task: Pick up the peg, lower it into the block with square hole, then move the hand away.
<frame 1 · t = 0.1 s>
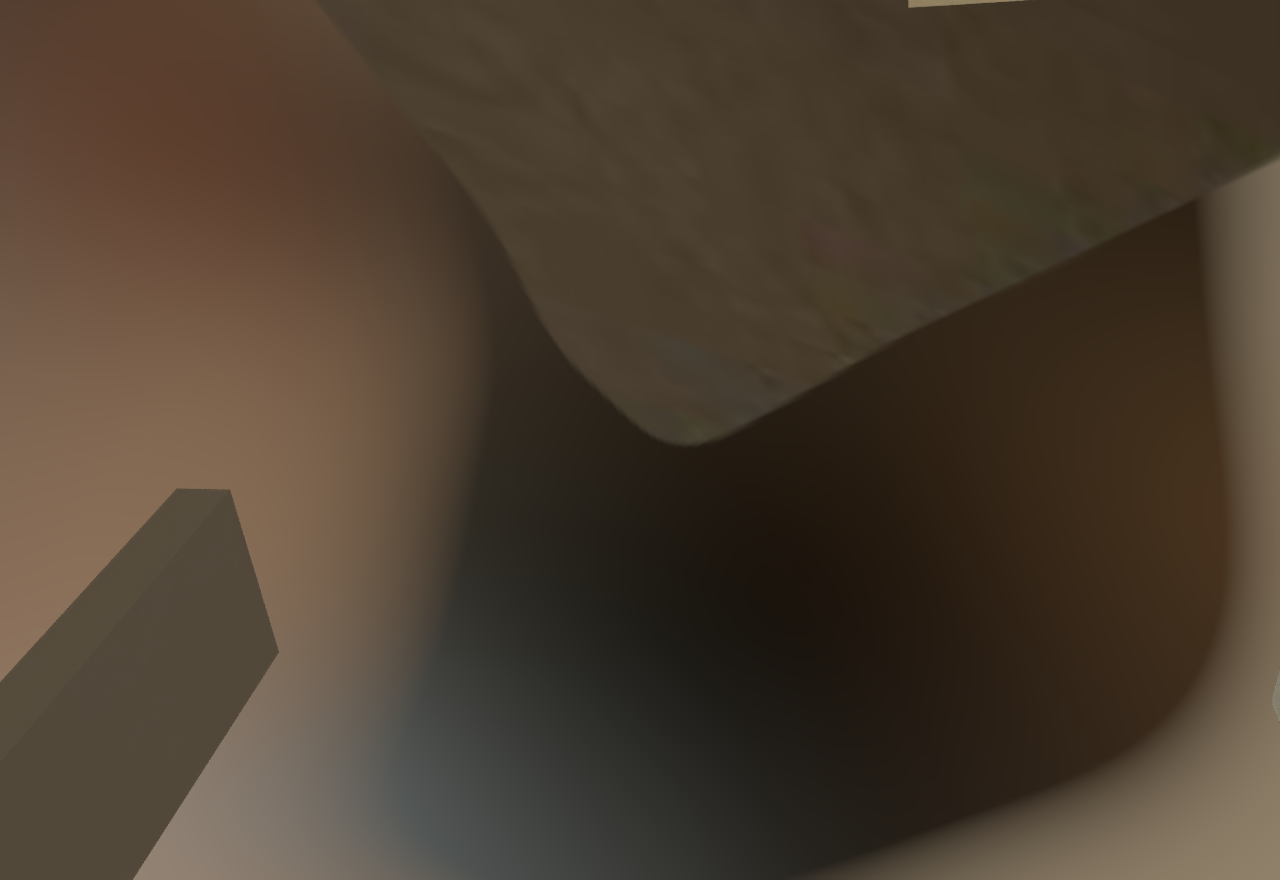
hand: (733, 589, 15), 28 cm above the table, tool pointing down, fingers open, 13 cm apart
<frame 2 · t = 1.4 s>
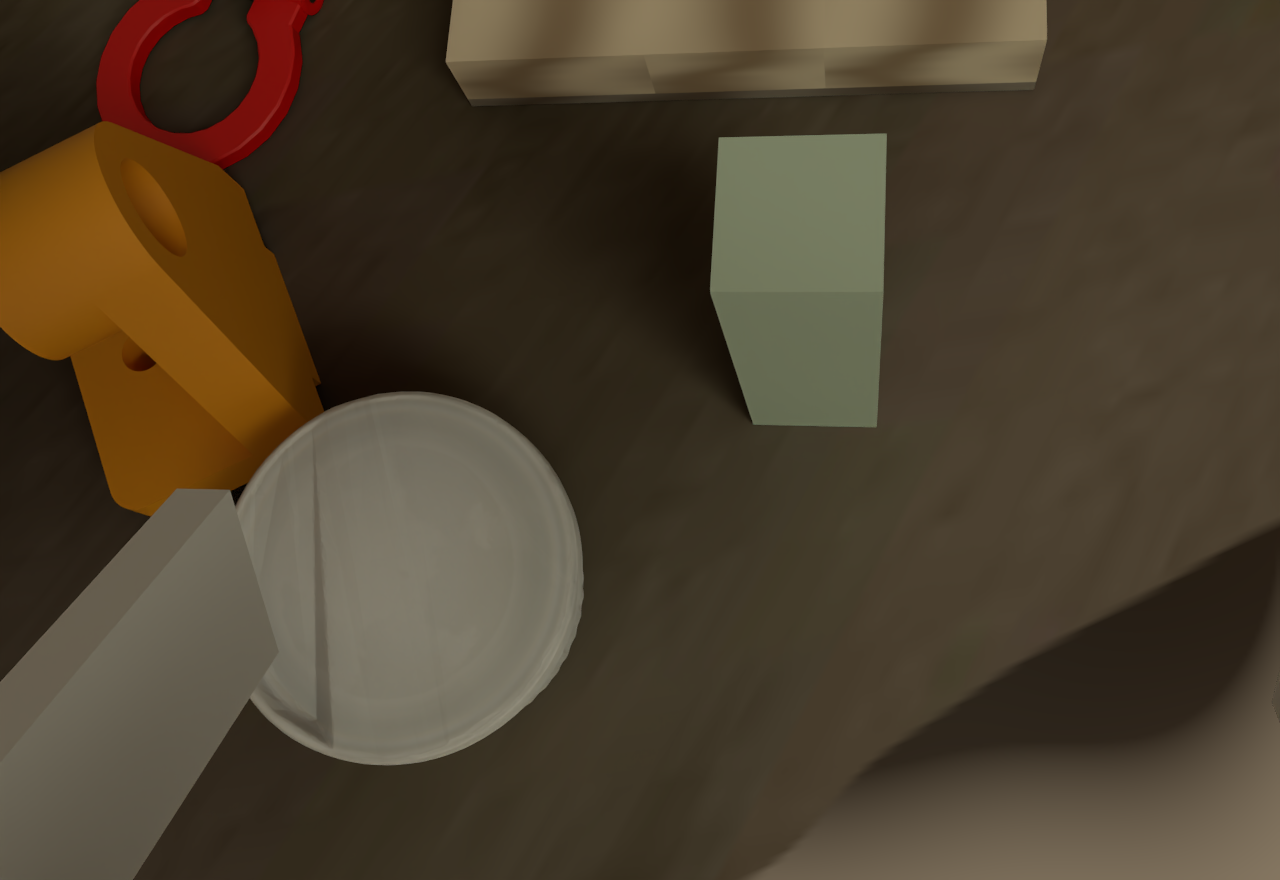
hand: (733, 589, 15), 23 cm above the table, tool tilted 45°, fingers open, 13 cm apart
bracket: (213, 362, 44), on the table
peg: (816, 367, 40), on the table
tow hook: (214, 73, 47), on the table
ramekin: (449, 592, 40), on the table
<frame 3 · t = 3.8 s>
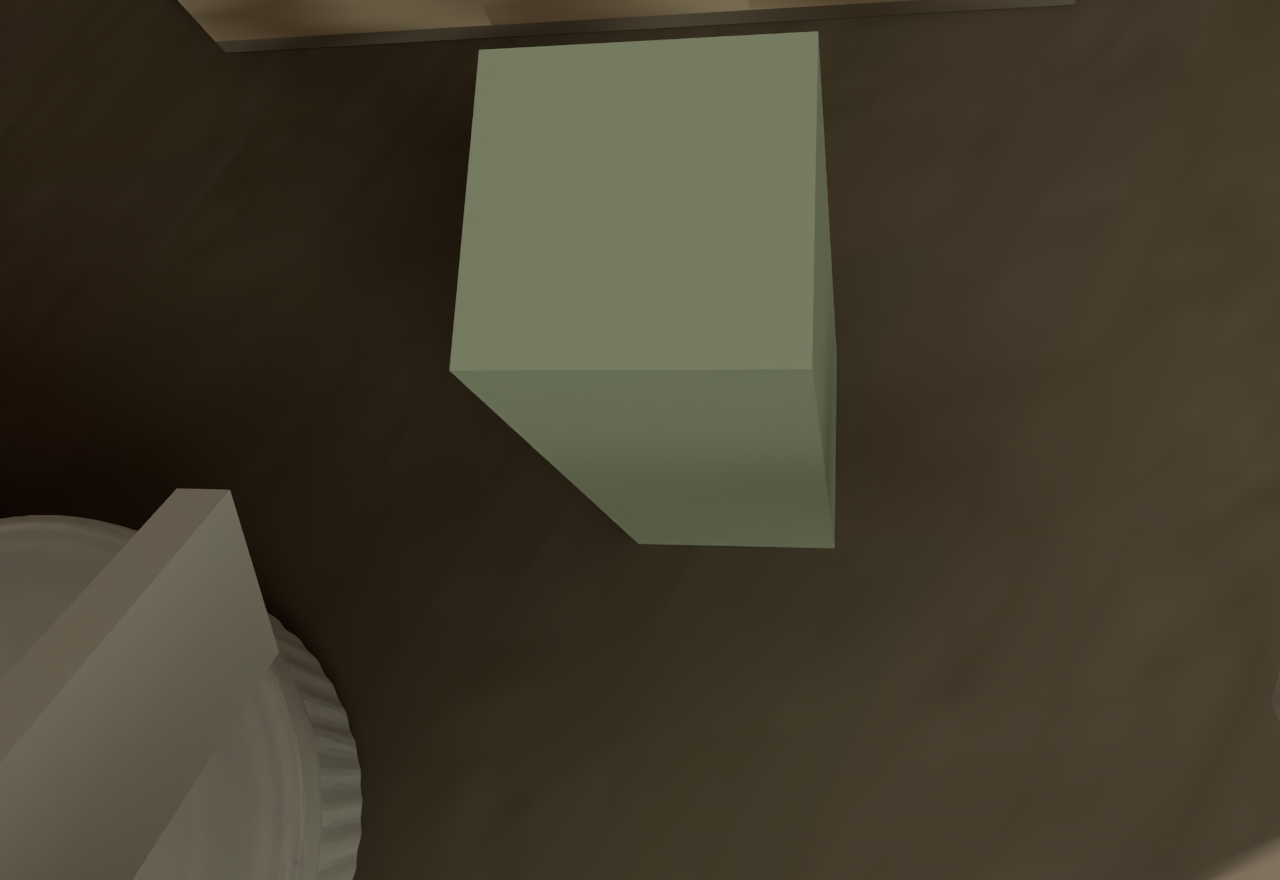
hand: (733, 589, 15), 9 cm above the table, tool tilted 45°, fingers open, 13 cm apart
peg: (738, 450, 25), on the table
ramekin: (164, 815, 26), on the table
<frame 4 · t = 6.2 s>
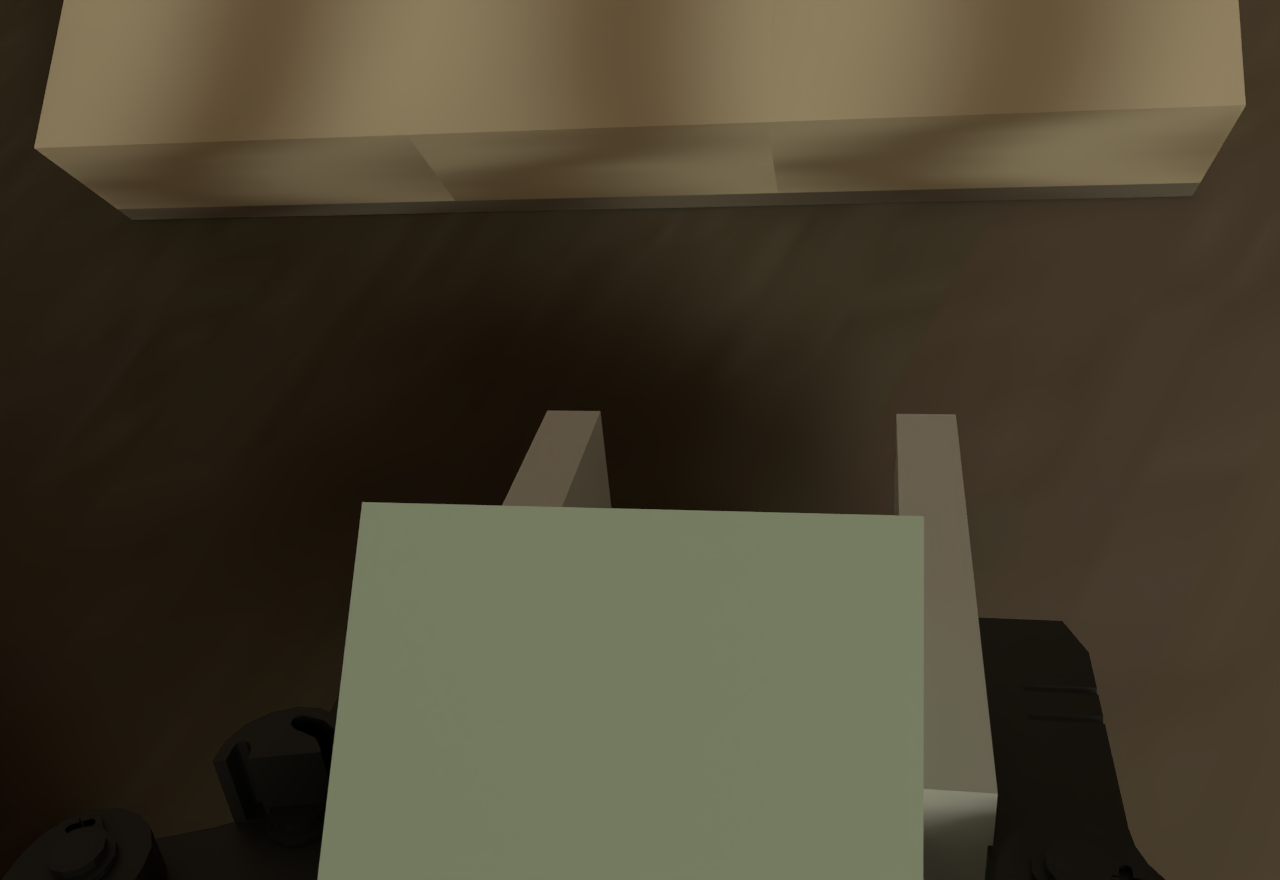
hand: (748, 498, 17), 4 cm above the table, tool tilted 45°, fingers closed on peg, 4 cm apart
peg: (760, 776, 19), on the table, touching gripper
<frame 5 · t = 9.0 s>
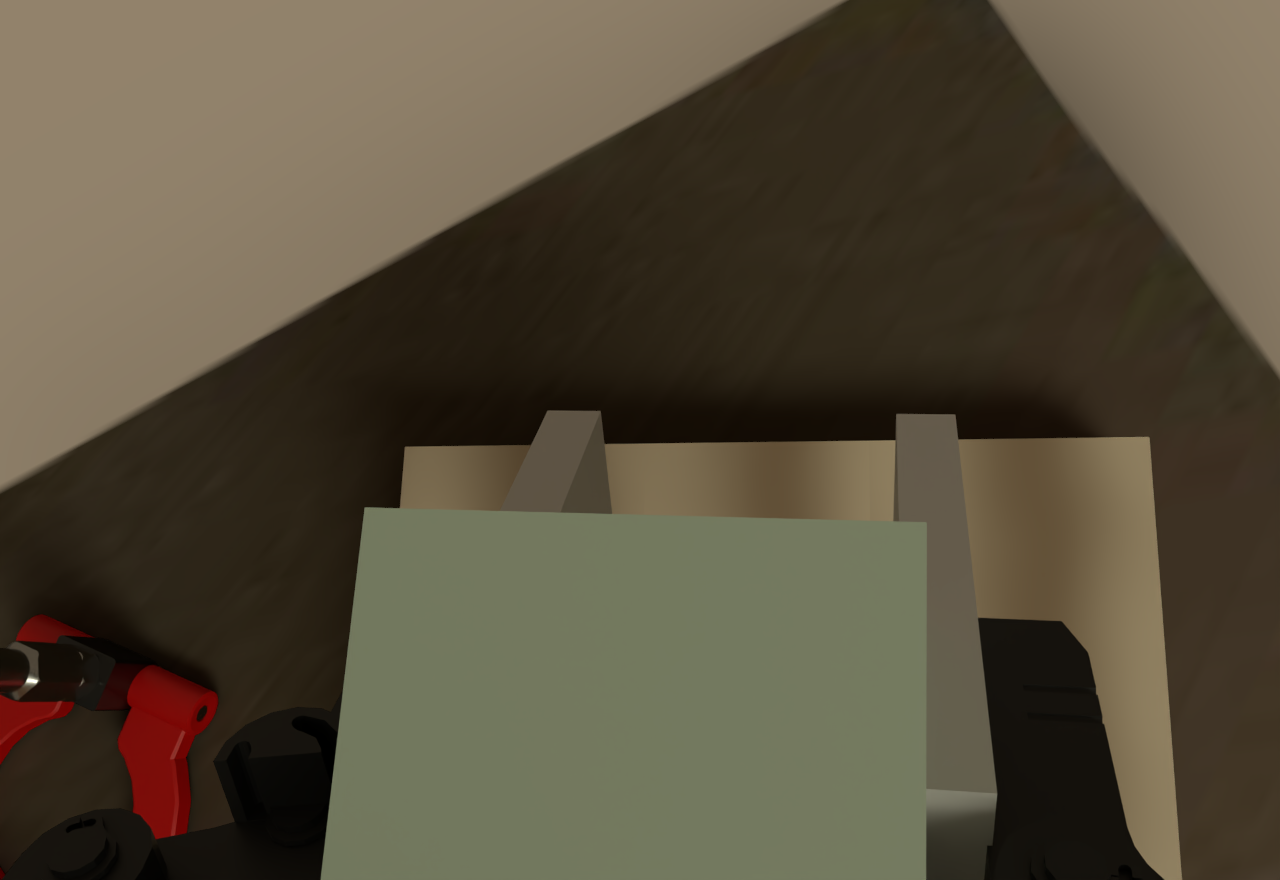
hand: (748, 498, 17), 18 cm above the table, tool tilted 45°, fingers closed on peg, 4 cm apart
block with square hole: (763, 675, 34), on the table
peg: (761, 779, 19), point 14 cm above the table, touching gripper
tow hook: (81, 793, 37), on the table
when the fingers open (5 cm above the table, at t = 11.9 s): peg stays where it is, resting on block with square hole.
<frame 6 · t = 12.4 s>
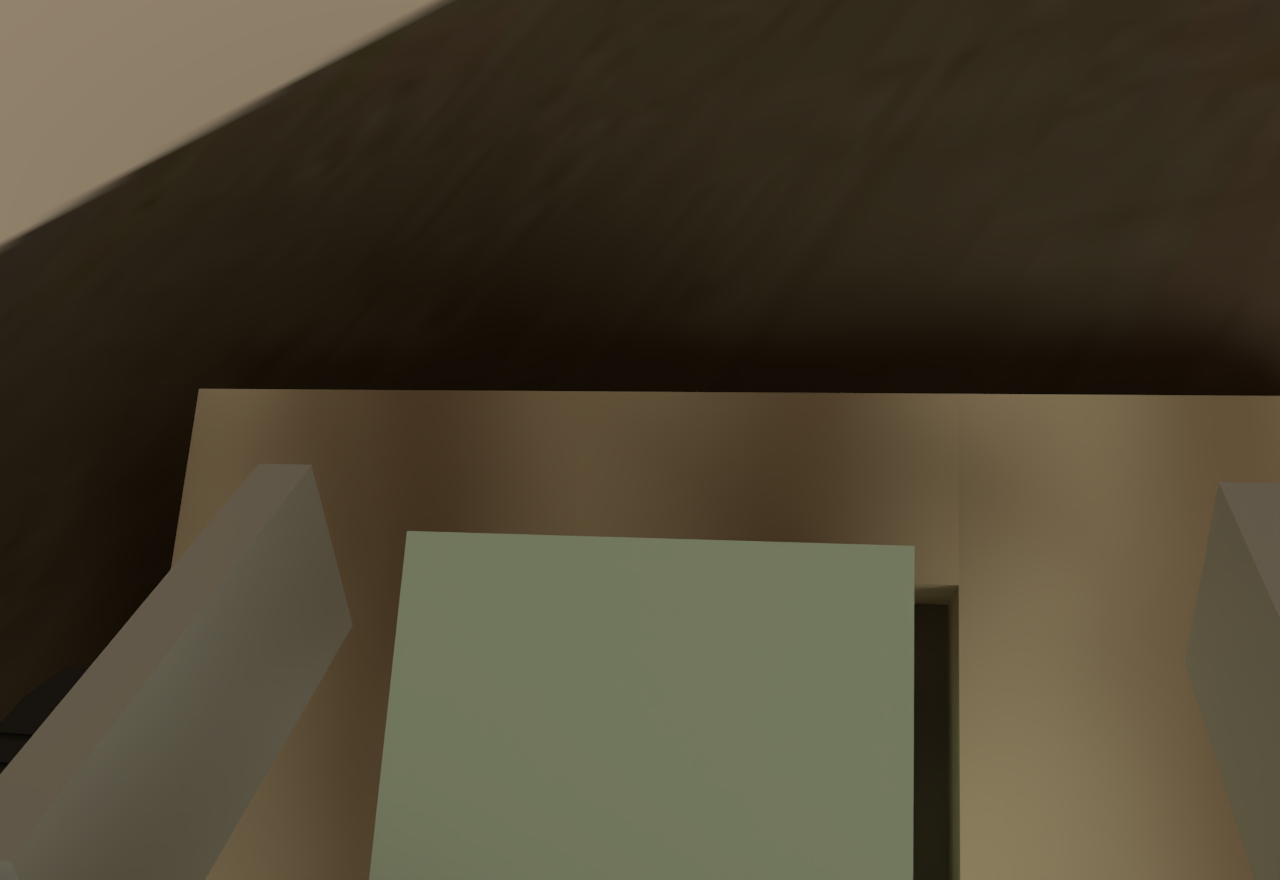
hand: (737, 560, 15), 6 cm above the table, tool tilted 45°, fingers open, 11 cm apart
block with square hole: (767, 775, 21), on the table
peg: (763, 778, 20), resting on block with square hole
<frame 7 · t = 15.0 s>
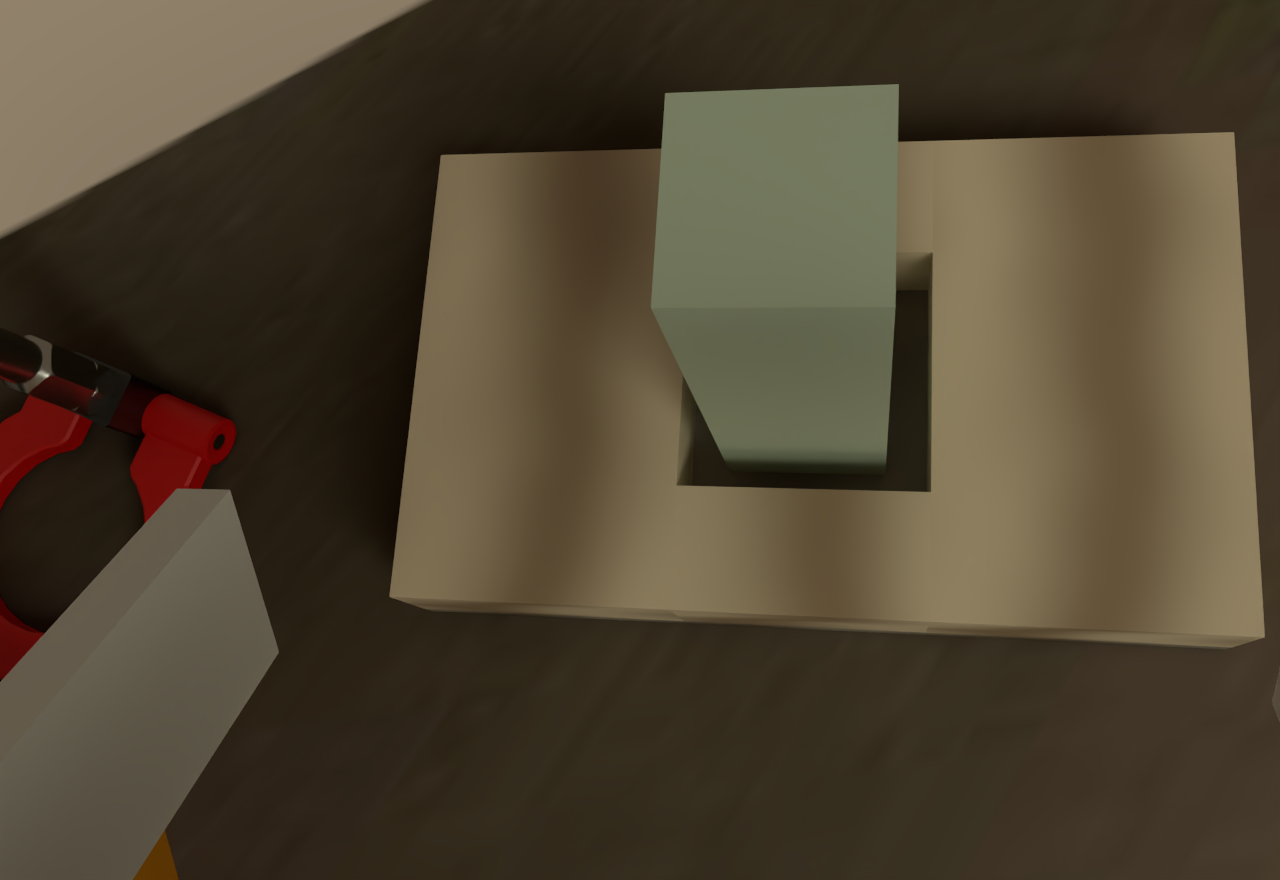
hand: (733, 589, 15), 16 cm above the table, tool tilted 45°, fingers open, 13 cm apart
block with square hole: (810, 402, 32), on the table
peg: (808, 398, 32), resting on block with square hole
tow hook: (90, 530, 35), on the table
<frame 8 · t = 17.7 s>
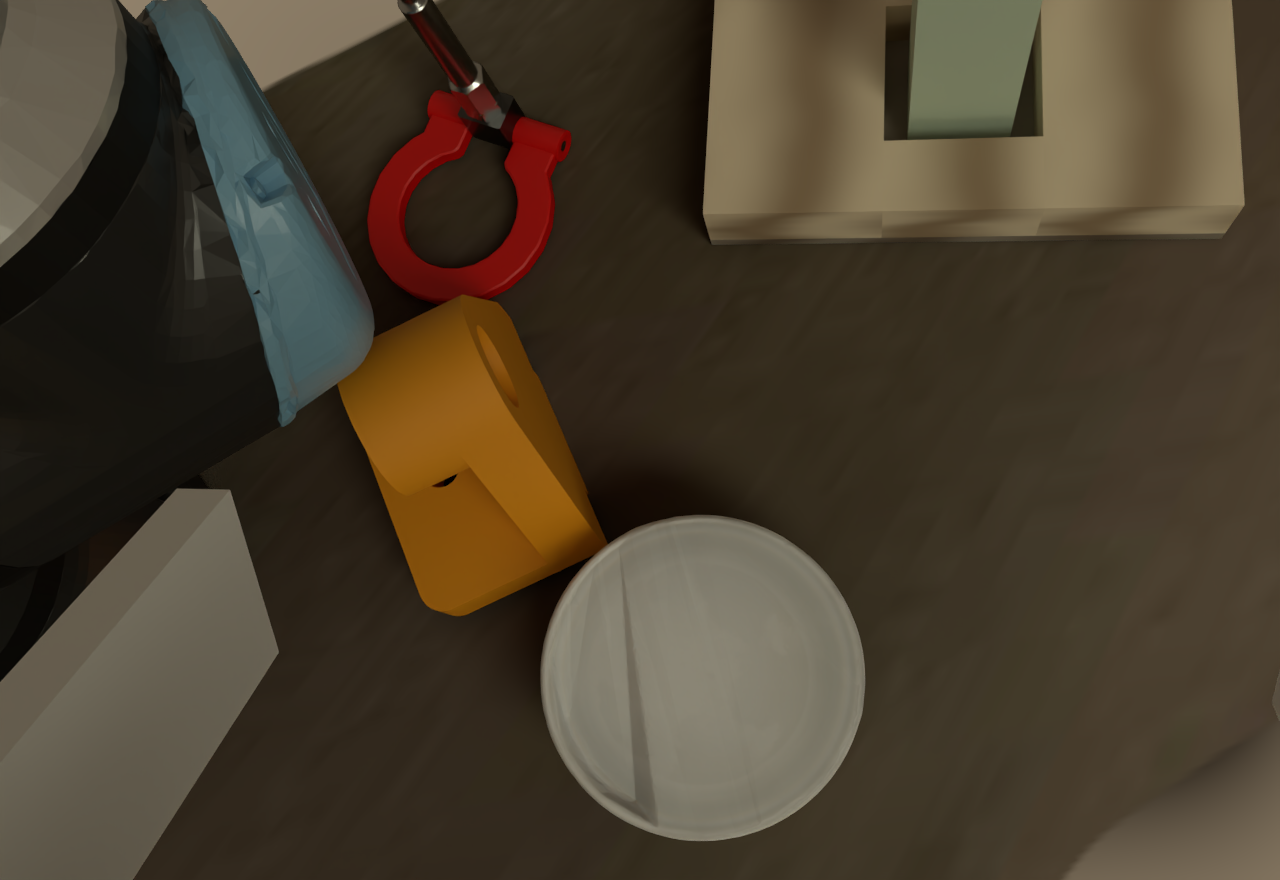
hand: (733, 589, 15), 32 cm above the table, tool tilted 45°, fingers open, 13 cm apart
bracket: (486, 472, 50), on the table, touching arm
block with square hole: (956, 108, 50), on the table
peg: (957, 103, 50), resting on block with square hole
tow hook: (470, 211, 53), on the table
ramekin: (715, 681, 46), on the table
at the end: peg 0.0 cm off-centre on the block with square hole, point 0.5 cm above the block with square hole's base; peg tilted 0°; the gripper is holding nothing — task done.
